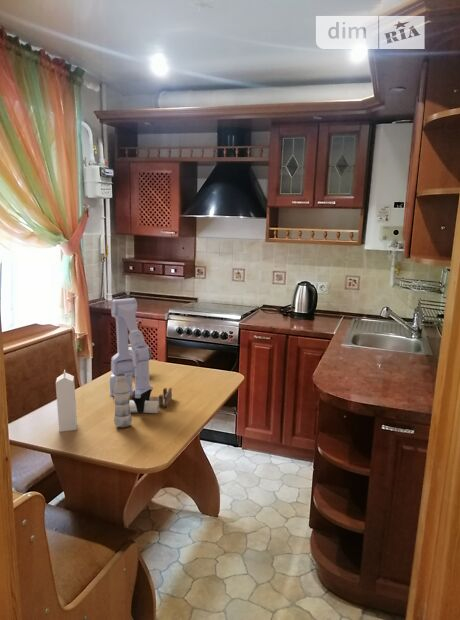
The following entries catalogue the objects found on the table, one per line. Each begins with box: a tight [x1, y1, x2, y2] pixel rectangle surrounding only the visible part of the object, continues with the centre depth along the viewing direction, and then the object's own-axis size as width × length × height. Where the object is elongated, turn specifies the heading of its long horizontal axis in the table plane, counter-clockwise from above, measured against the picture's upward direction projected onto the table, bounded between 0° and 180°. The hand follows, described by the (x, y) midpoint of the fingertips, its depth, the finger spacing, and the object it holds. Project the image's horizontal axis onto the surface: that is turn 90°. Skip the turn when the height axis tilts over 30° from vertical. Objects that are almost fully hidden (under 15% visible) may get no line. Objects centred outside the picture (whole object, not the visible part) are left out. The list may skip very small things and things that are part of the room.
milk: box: [55, 369, 78, 433], centre depth 166 cm, size 6×6×22 cm
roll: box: [129, 399, 160, 414], centre depth 182 cm, size 12×5×5 cm, turn 85°
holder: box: [129, 387, 173, 409], centre depth 191 cm, size 15×10×5 cm, turn 85°
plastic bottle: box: [113, 374, 133, 429], centre depth 167 cm, size 6×7×20 cm
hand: (143, 408), depth 182 cm, fingers open, 7 cm apart
